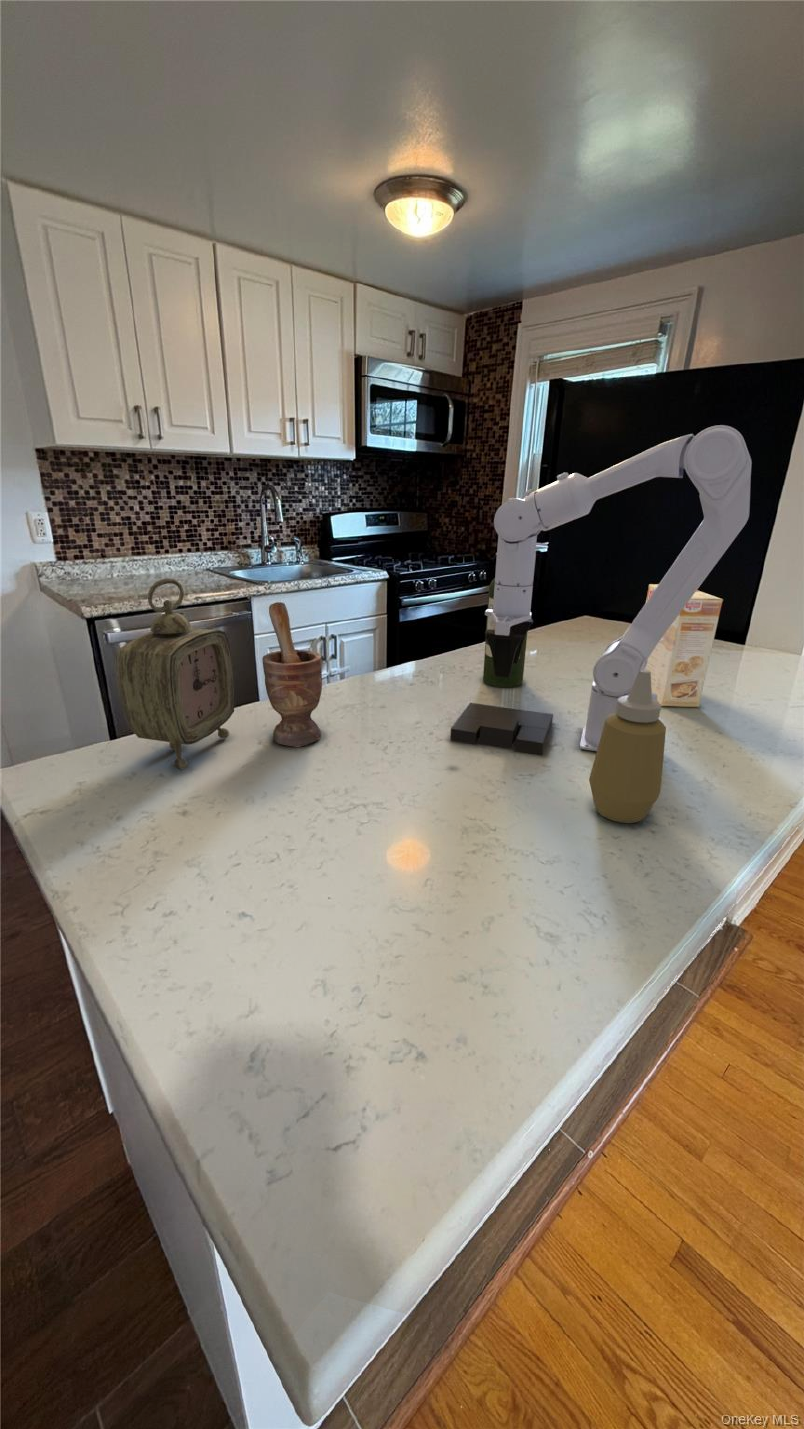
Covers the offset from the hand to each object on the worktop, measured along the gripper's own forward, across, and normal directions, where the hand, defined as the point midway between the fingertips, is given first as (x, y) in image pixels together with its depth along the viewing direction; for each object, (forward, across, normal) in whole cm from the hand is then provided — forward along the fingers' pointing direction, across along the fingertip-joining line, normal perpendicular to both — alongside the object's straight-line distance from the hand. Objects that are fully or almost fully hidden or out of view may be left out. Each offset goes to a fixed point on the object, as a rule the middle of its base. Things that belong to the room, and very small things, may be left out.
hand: (506, 669), depth 91 cm
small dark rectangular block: (+9, +8, +1) cm, 12 cm away
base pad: (+9, +4, +1) cm, 10 cm away
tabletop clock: (+10, +28, -41) cm, 51 cm away
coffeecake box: (+10, -26, +26) cm, 38 cm away
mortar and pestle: (+10, +17, -30) cm, 36 cm away
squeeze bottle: (+10, +22, +19) cm, 31 cm away
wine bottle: (+10, -21, -4) cm, 23 cm away
